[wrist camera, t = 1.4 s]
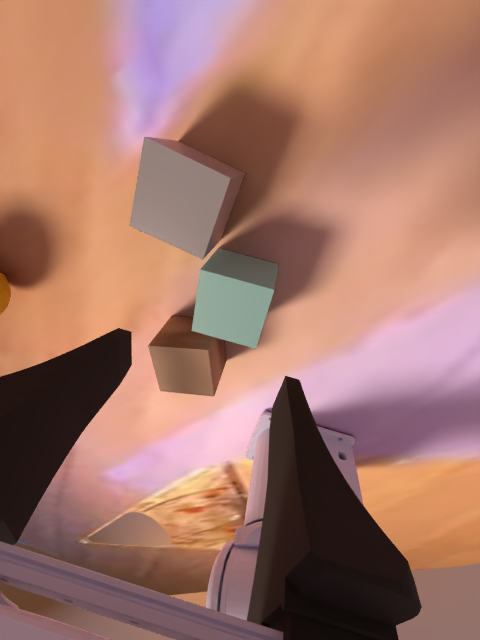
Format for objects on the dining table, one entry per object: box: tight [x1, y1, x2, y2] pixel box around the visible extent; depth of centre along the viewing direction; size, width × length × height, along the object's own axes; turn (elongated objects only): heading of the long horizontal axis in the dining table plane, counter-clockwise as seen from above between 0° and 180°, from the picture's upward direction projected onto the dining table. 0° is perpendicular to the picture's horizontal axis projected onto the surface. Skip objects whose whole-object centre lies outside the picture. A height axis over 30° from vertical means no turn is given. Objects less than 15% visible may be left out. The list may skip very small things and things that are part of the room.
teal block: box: [192, 248, 279, 349], centre depth 19 cm, size 4×4×4 cm
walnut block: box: [148, 316, 226, 396], centre depth 22 cm, size 4×4×4 cm
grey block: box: [130, 137, 245, 259], centre depth 16 cm, size 4×4×4 cm
